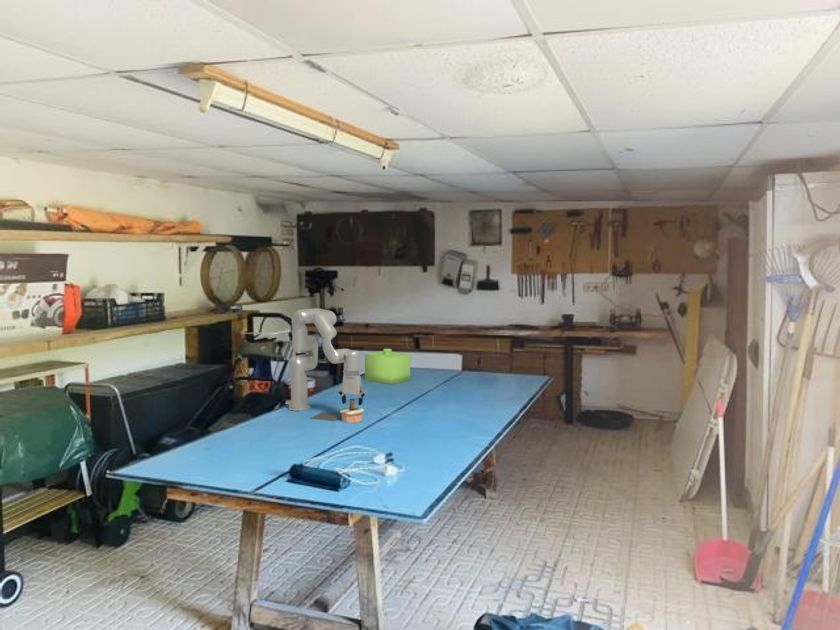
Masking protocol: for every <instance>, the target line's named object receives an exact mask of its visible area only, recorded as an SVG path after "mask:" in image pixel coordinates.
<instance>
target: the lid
mask: <svg viewBox="0 0 840 630" xmlns="http://www.w3.org/2000/svg"><path fill="white" fill-rule="evenodd" d="M355 401H356V400H355V398H349V407H348V406H347V407H344V408H341V409H340V410H339V412H340V413H339V414H346V415H357V414H362V415H363V414H364V412H365V409H364V408H362V407H356V406H355V404H356V402H355Z"/></svg>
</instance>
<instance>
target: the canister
mask: <svg viewBox="0 0 840 630" xmlns="http://www.w3.org/2000/svg"><path fill="white" fill-rule="evenodd" d="M382 350H383V351H382ZM382 350H381V351H375V352H370V353H365V354H364V381H366V382H372V383H378V384H384V385H390V386H392V385H397V384H400V383H405V382H409V381H411V354H410V353H405V352H404V353H402V352H396V351H393V350H392V348H384V349H382Z"/></svg>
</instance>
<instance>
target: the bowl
mask: <svg viewBox="0 0 840 630" xmlns="http://www.w3.org/2000/svg"><path fill="white" fill-rule="evenodd" d="M341 414H342V413H341ZM341 421H342V422H344V423H353V424H354V423H361V422H362V421H363V413H362V414H357V415H346V414H342V417H341Z"/></svg>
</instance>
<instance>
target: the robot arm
mask: <svg viewBox="0 0 840 630" xmlns="http://www.w3.org/2000/svg"><path fill="white" fill-rule="evenodd" d="M336 323H337V316H336V313H334V312H333V311H332V310H329V309H328V310H327V309H323V308H317V307H316V308H315V307H314V308H304V309H303V308H302V309H299V310H295V312H293V314H292V315H291V327H292V337H291V338H292V340H291V341H292V343H291V345H292V351H293V353H295V354H298V355H294V356H292V357H291V358H290V359H289V362H288V366H289V372H290V400H287V399H286V400H285V405H288V410H290V411H295V412H299V411H300V412H301V411H305V410H306V411H307V410H309V409H310V408H311V406H310V405H308V376H307V374H306V373H305V372H306V371H311V370H314V369H316V368H317V366H318V358H319V343H318V341H317V338H316V337H314V336H312V335H308V328H307V326H306V324H309V325H310V324H314V327H316V329H317V331H318V332H319V334H320V336H321V338H322V339H323V340H322V350H323V354H324V355H325V357H326V359H327V360H328V361H329V362H330V363H331V364H333V365H334V364H342V363H344V366H345V367H344V368H345V369H344V370H343V371H342V372H343V374H344V375H343V378H342V385H340V386H338V387H337V392H338V393H339V395H340V397H341V402H342V405H344V404H346V403H347V396H346V395H352V396H353V395H357V397H358V406H361V405H362V404H363V403H364V401H363V398H364V396H366V394H367V393H368V389H366V388H364V387H363V385H362V378H361V375H360V352H359V351H358V350H352V349H349V348H338V349H335V348H334V346H333V345H332V342H331V341H332V340H333V339H334V338H335V337H336V336H337V333H338V332H337V329H336V328H335V327H334V325H335V324H336ZM362 392H363V393H362Z"/></svg>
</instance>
